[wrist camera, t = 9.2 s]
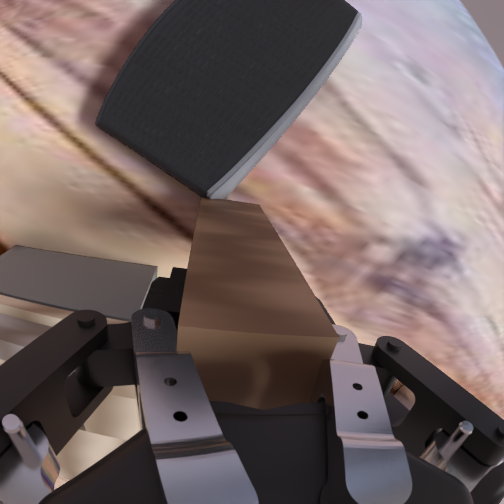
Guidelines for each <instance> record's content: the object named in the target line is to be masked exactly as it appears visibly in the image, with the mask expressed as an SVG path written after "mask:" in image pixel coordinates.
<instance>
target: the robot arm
mask: <svg viewBox="0 0 504 504" xmlns="http://www.w3.org/2000/svg"><path fill="white" fill-rule="evenodd" d="M186 274H187V269H184V268H176V267H173V269H172V272H171V276H170V278H164V277H158V278H157V279H155V280H154V281H152V283H151V286H150V289H149V291H148V294H147V296H146V299H145V302H144V304H143V307H142V309H140V310H138V311H136V312H134V313H133V315H132V316H131V321H130V322H127V323H121V324H107V318H106V317H105V316H104V315H103V314H102V313H100V312H98V311H95V310H79V311H75V312H73V313H71V314H70V315H68V316H67V317H65V318H64V319H63V320H61V321H60V322H58V323H57V324H56V325H54V326H53V327H51V328H50V329H49V330H47V331H46V332H44V333H43V334H42V335H40V336H39V337H38V338H36V339H35V340H33V341H32V342H31V343H29V344H28V345H27V346H25V347H24V348H23V349H21V350H20V351H19V352H17V353H16V354H15V355H13V356H12V357H11V358H9V359H8V360H7V361H5V362H4V363H3V364H2V365H0V504H499V503H500V502H501V500H502V499H503V498H504V420H503V419H502V418H501V417H499V416H498V415H497V414H496V413H494V412H493V411H492V410H491V409H489V408H488V407H487V406H486V405H484V404H483V403H482V402H480V401H479V400H478V399H477V398H475V397H474V396H473V395H472V394H470V393H469V392H468V391H466V390H465V389H464V388H463V387H461V386H460V385H459V384H457V383H456V382H455V381H454V380H452V379H451V378H450V377H448V376H447V375H446V374H445V373H443V372H442V371H441V370H439V369H438V368H437V367H436V366H434V365H433V364H432V363H430V362H429V361H428V360H426V359H425V358H424V357H422V356H421V355H420V354H419V353H417V352H416V351H415V350H413V349H412V348H411V347H409V346H408V345H407V344H405V343H404V342H403V341H401V340H399V339H397V338H394V337H390V336H382V337H379V338H378V339H377V342H376V344H375V346H370V345H365V344H361V343H358V342H357V338H356V336H355V334H354V333H353V332H352V331H351V330H349V329H347V328H345V327H343V326H340V325H336V324H335V323H334V321H333V320H332V318H331V316H330V315H329V313H327V310H326V309H325V307H324V305H323V304H322V302H321V301H320V300H319V299H318V298H317V297H316V298H317V300H318V302H319V303H320V305H321V307H322V309H323V310H324V312H325V314H326V315H327V317H328V319H329V320H330V322H331V324H332V326H333V327H334V329H335V331H336V332H337V334H338V336H339V339H338V342H337V344H336V347H335V350H334V352H333V355H332V357H331V359H326V360H322V363H321V365H320V368H319V370H318V377H317V383H316V386H315V389H314V391H313V394H312V396H311V398H310V401H309V403H295V404H291V405H286V406H282V407H277V408H272V409H266V410H262V409H257V408H252V407H247V406H243V405H238V404H234V403H230V402H222V401H209V400H208V397H207V395H206V392H205V390H204V387H203V384H202V382H201V379H200V377H199V374H198V371H197V368H196V366H195V363H194V360H193V358H192V355H191V353H190V351H177V334H178V323H179V316H180V310H181V303H182V297H183V291H184V285H185V279H186ZM396 379H398V380H399V381H400V382H401V383H402V384H404V385H403V386H402V387H401V388H400V389H399V390H398V391H397V392H396V393H395V394H394V396H393V395H392V394H391V393H390V390H391V388H392V387H393V385H394V383H395V381H396ZM126 385H135V392H136V399H137V406H138V412H139V418H140V424H141V430H140V431H139V432H138V433H136V434H135V435H134V436H132V437H131V438H130V439H128V440H127V441H126V442H124V443H123V444H121V445H120V446H119V447H117V448H116V449H115V450H113V451H112V452H110V453H109V454H107V455H106V456H105V457H103V458H102V459H100V460H99V461H98V462H96V463H95V464H93V465H92V466H90V467H89V468H87V469H86V470H84V471H83V472H81V473H80V474H78V475H77V476H75V477H74V478H72V479H71V480H69V481H68V482H66V483H65V484H63V485H62V486H60V487H59V488H57V489H55V490H54V484H55V481H56V479H57V477H58V476H59V473H60V464H59V461H58V458H57V455H58V454H59V452H60V451H61V450H62V449H63V448H64V447H65V445H66V444H67V443H68V442H69V441H70V439H71V438H72V437H73V436H74V435H75V433H76V432H77V431H78V430H79V429H80V428H81V426H82V425H83V424H84V423H85V422H86V420H87V419H88V418H89V417H90V416H91V415H92V413H93V412H94V411H95V410H96V409H97V408H98V406H99V405H100V404H101V403H102V402H103V401H104V399H105V398H106V397H107V396H108V395H109V394H110V392H111V391H112V389H113V386H126Z"/></svg>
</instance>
